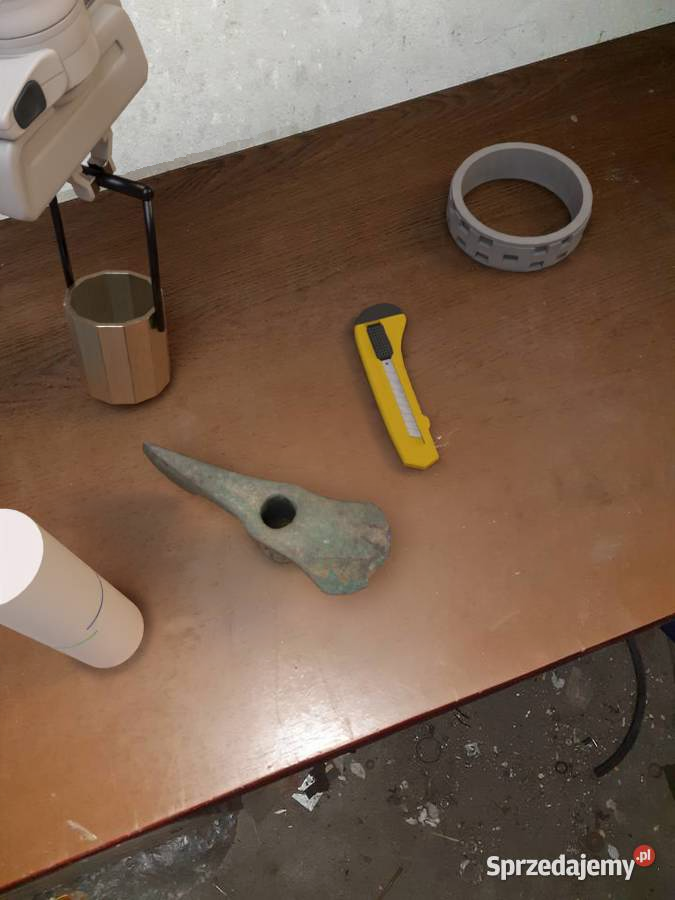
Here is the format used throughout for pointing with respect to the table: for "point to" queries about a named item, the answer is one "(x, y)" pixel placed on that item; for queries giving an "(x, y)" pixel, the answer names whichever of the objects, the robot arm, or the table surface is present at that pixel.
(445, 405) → the table surface
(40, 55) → the robot arm
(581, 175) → the ring
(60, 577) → the cylindrical container
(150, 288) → the bucket
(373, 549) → the axe head
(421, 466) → the utility knife
